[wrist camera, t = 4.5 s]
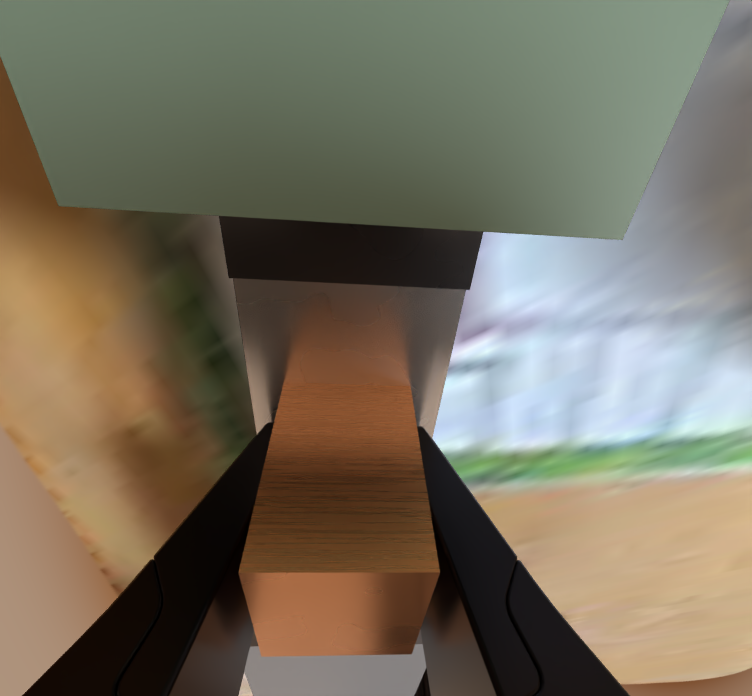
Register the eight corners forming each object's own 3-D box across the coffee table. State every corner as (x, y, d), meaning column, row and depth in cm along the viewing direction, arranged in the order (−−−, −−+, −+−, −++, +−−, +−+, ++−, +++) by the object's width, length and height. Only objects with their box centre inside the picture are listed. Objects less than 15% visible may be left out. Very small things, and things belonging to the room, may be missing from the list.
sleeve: (393, 577, 24) (403, 721, 19) (285, 577, 24) (264, 725, 19) (414, 476, 19) (436, 644, 13) (271, 474, 18) (235, 646, 13)
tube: (381, 549, 20) (392, 773, 14) (299, 549, 20) (271, 777, 13) (441, 166, 10) (602, 366, 3) (268, 153, 9) (73, 346, 3)
